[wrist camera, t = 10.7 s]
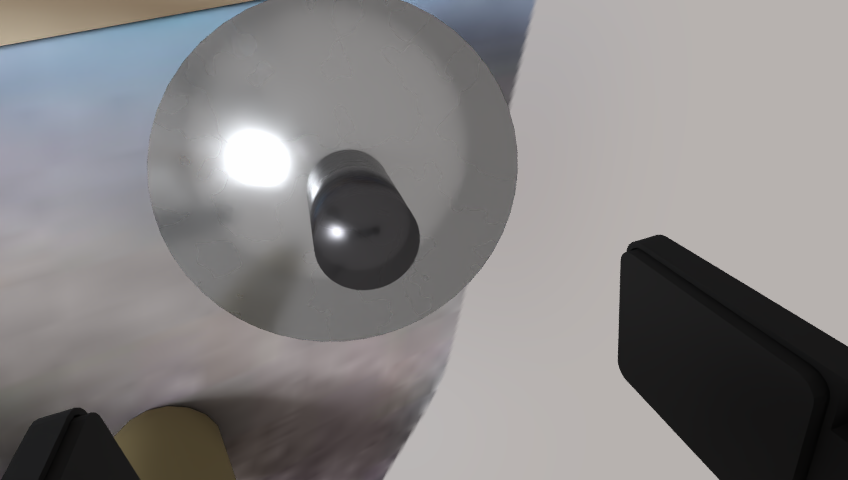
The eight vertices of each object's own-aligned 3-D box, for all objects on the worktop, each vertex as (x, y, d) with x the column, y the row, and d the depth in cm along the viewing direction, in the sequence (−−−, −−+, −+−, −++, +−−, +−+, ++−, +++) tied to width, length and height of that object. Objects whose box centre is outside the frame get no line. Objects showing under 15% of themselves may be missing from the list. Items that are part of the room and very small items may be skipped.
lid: (83, 29, 16) (-11, 42, 11) (492, -42, 19) (575, -60, 13) (226, 364, 23) (210, 474, 17) (519, 282, 25) (583, 358, 20)
